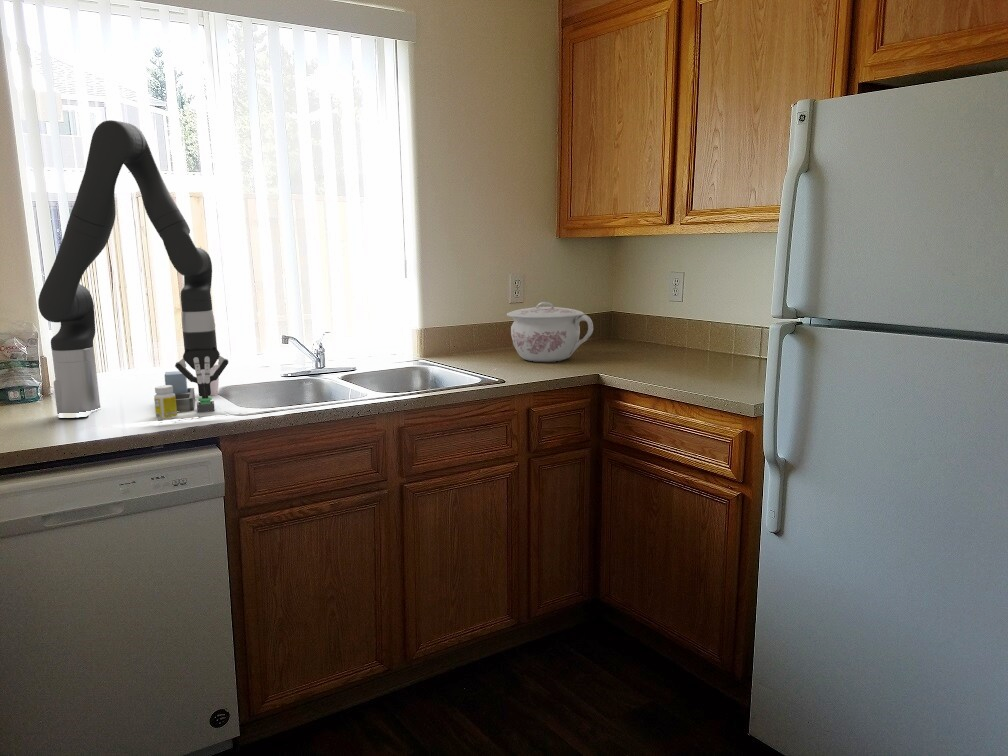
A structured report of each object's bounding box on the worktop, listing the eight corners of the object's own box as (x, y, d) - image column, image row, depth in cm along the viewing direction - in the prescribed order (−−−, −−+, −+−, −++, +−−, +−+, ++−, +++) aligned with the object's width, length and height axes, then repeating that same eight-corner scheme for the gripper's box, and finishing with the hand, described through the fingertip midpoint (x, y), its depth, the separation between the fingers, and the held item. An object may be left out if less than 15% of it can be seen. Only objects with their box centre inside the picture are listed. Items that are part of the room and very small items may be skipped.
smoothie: (215, 395, 217) (211, 346, 214) (227, 397, 213) (223, 348, 210) (194, 398, 212) (189, 349, 209) (206, 401, 208) (201, 351, 205)
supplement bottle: (180, 417, 189) (177, 384, 187) (173, 422, 184) (170, 388, 183) (161, 418, 188) (158, 384, 187) (153, 422, 184) (149, 388, 182)
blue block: (167, 405, 198) (164, 375, 196) (168, 401, 202) (165, 372, 201) (188, 403, 200) (185, 373, 198) (188, 399, 204) (185, 370, 203)
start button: (199, 415, 189) (198, 399, 189) (199, 413, 192) (198, 397, 192) (213, 414, 190) (211, 398, 190) (213, 411, 193) (211, 396, 193)
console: (197, 417, 189) (196, 405, 188) (198, 413, 193) (197, 402, 192) (214, 415, 190) (213, 403, 190) (214, 412, 194) (213, 400, 193)
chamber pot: (494, 357, 278) (493, 301, 274) (560, 352, 289) (560, 297, 286) (529, 368, 253) (528, 306, 249) (599, 361, 264) (599, 302, 261)
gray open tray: (158, 418, 188) (156, 401, 188) (162, 405, 204) (160, 389, 203) (194, 415, 191) (193, 398, 190) (195, 402, 207) (194, 387, 206)
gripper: (169, 332, 182) (176, 403, 185) (227, 329, 186) (233, 398, 189) (170, 329, 189) (177, 397, 192) (227, 326, 193) (232, 392, 196)
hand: (205, 397), depth 191 cm, fingers closed
